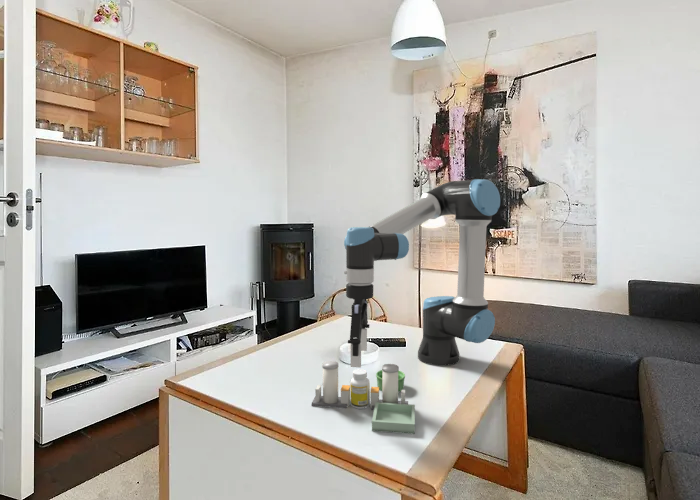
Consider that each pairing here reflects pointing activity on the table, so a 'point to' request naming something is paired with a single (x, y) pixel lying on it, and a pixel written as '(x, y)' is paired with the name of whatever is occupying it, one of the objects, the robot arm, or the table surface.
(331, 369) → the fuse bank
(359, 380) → the supplement bottle
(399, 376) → the ramekin
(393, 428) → the tray
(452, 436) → the table surface
